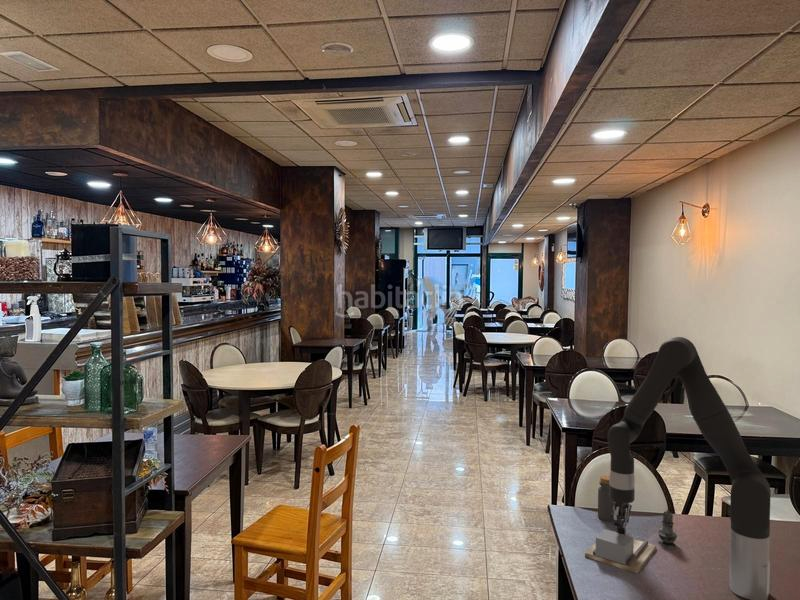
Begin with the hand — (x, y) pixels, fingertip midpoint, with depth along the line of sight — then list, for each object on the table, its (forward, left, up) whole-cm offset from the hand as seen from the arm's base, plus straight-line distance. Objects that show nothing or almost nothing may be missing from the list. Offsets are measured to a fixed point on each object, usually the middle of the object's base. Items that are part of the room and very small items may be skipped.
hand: (621, 537), depth 176 cm
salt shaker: (-10, -16, -5) cm, 20 cm away
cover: (0, +6, -3) cm, 7 cm away
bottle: (+13, -24, -5) cm, 28 cm away
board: (0, 0, -5) cm, 5 cm away
